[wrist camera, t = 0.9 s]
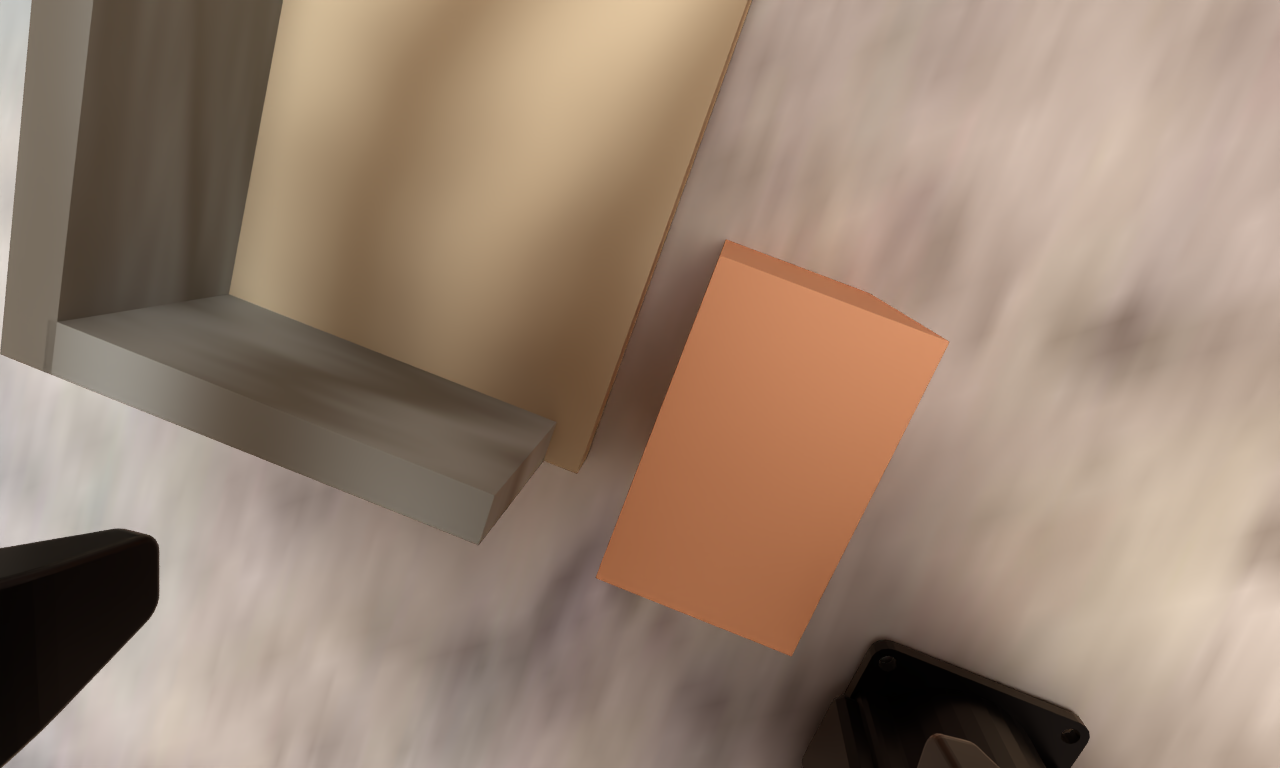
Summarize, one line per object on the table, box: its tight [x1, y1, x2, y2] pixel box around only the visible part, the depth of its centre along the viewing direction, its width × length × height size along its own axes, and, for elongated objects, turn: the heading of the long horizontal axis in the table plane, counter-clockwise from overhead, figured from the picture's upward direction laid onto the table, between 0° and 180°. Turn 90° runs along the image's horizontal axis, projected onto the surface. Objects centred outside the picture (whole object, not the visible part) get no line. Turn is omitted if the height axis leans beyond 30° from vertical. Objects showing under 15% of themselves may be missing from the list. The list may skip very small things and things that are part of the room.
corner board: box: [0, 0, 752, 545], centre depth 15 cm, size 13×14×6 cm
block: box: [596, 240, 949, 656], centre depth 16 cm, size 4×6×7 cm, turn 160°
